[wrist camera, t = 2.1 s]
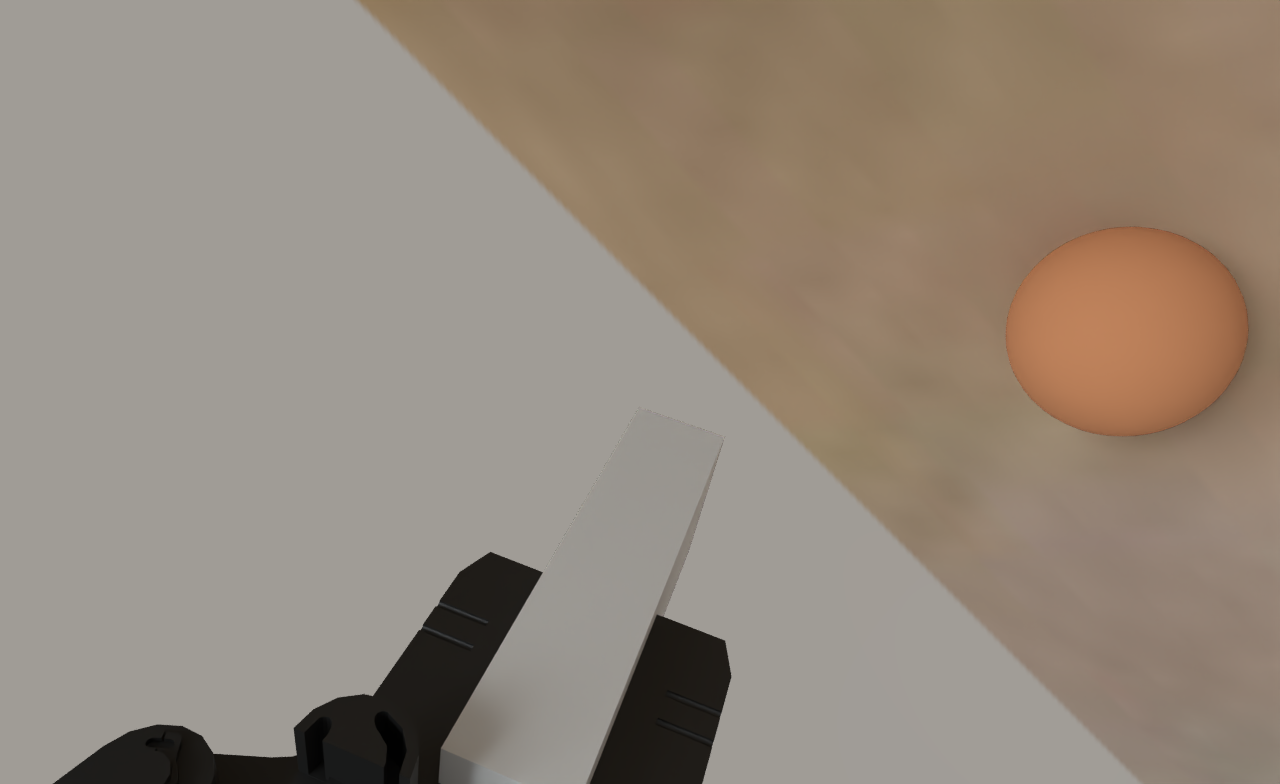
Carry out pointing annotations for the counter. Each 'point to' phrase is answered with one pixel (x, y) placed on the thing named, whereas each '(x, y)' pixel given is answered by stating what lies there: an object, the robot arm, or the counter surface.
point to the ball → (1127, 331)
